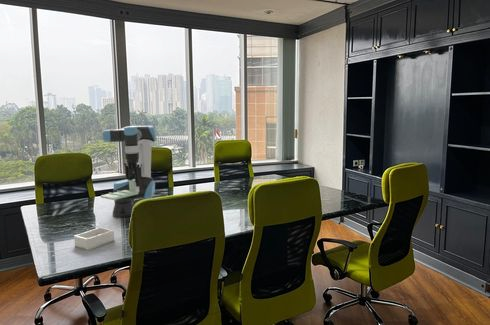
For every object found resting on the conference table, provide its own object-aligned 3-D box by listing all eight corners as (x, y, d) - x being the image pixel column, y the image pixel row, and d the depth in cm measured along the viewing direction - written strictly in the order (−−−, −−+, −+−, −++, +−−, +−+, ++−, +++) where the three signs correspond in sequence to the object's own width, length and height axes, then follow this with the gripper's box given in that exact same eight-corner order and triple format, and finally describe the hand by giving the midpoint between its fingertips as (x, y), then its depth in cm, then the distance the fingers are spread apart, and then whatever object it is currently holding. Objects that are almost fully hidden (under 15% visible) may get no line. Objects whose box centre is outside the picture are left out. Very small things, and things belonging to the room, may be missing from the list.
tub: (75, 246, 193) (74, 235, 192) (101, 237, 206) (101, 227, 205) (87, 250, 187) (86, 239, 186) (114, 241, 200) (113, 230, 199)
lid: (100, 197, 210) (99, 184, 209) (130, 190, 227) (130, 178, 226) (113, 200, 203) (112, 186, 202) (143, 192, 221) (142, 180, 220)
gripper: (117, 152, 221) (120, 191, 224) (136, 154, 211) (139, 194, 214) (127, 151, 227) (130, 188, 230) (146, 152, 217) (149, 191, 221)
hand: (134, 191), depth 222 cm, fingers closed on lid, 4 cm apart
